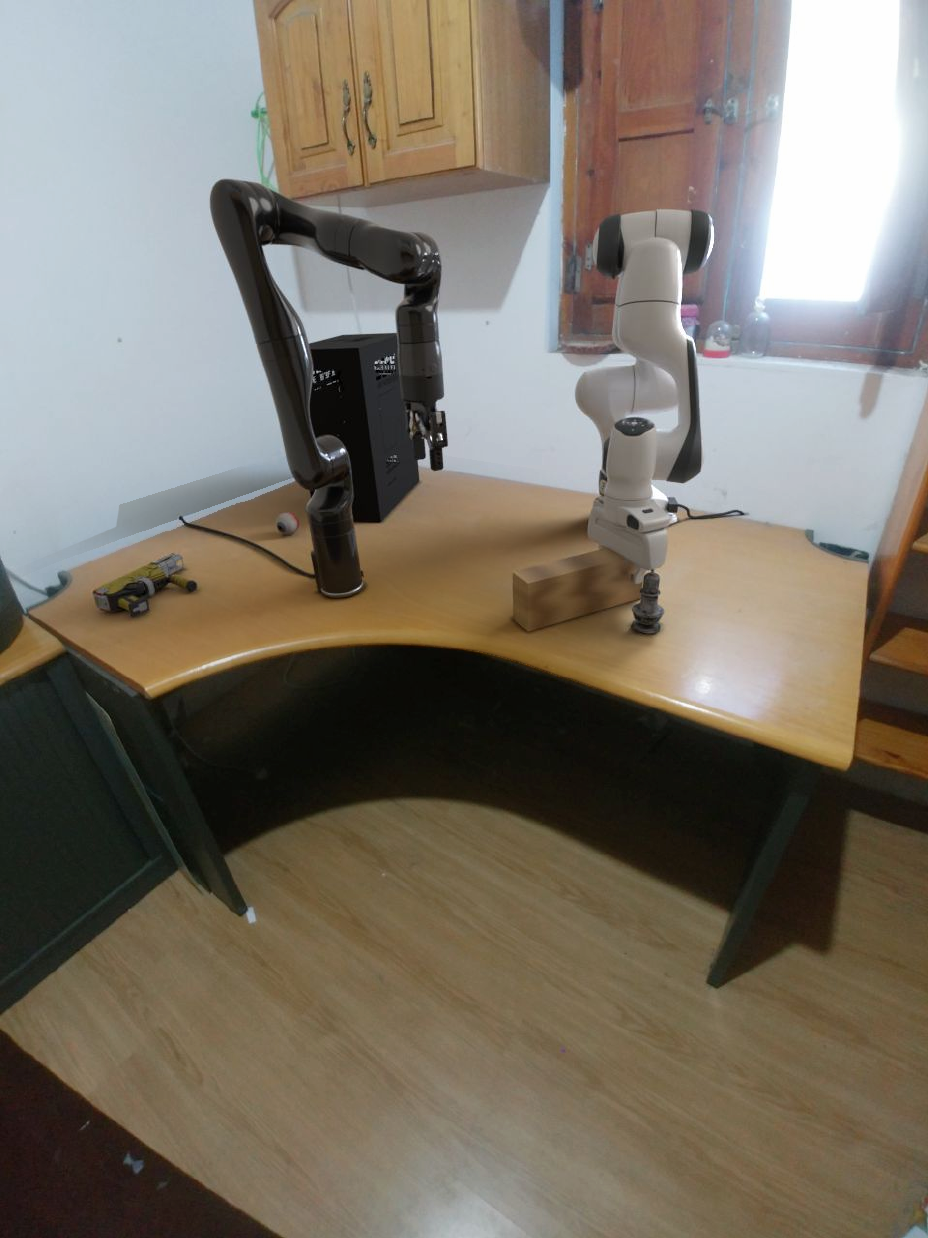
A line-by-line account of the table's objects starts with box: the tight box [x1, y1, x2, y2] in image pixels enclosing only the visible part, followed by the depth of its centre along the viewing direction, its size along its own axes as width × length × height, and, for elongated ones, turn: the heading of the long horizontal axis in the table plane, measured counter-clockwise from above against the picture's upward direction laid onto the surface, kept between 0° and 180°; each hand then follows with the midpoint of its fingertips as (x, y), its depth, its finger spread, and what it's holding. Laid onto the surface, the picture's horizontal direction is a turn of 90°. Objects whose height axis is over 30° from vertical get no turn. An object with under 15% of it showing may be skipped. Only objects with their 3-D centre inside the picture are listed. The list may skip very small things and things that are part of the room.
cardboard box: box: [308, 332, 420, 523], centre depth 176 cm, size 38×20×45 cm, turn 167°
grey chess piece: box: [631, 569, 665, 634], centre depth 111 cm, size 6×6×12 cm
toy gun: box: [92, 552, 198, 618], centre depth 136 cm, size 5×24×15 cm
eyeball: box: [275, 511, 300, 536], centre depth 163 cm, size 6×6×6 cm
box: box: [512, 548, 643, 633], centre depth 119 cm, size 27×6×10 cm, turn 115°
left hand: (428, 464), depth 111 cm, fingers open, 8 cm apart
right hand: (621, 573), depth 122 cm, fingers open, 8 cm apart
